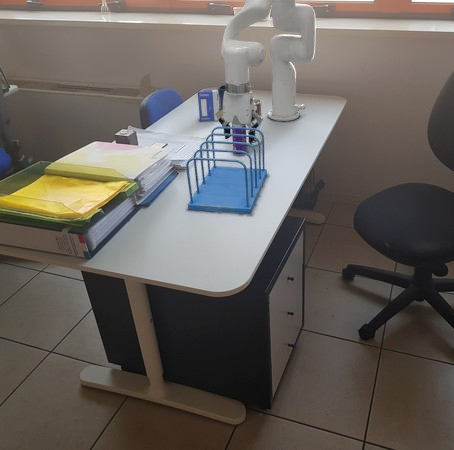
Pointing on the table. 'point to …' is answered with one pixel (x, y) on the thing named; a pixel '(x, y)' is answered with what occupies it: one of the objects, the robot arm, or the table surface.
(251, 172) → the file sorter
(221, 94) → the coffee mug
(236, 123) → the container
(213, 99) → the blue white carton
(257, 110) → the beer glass
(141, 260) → the table surface
